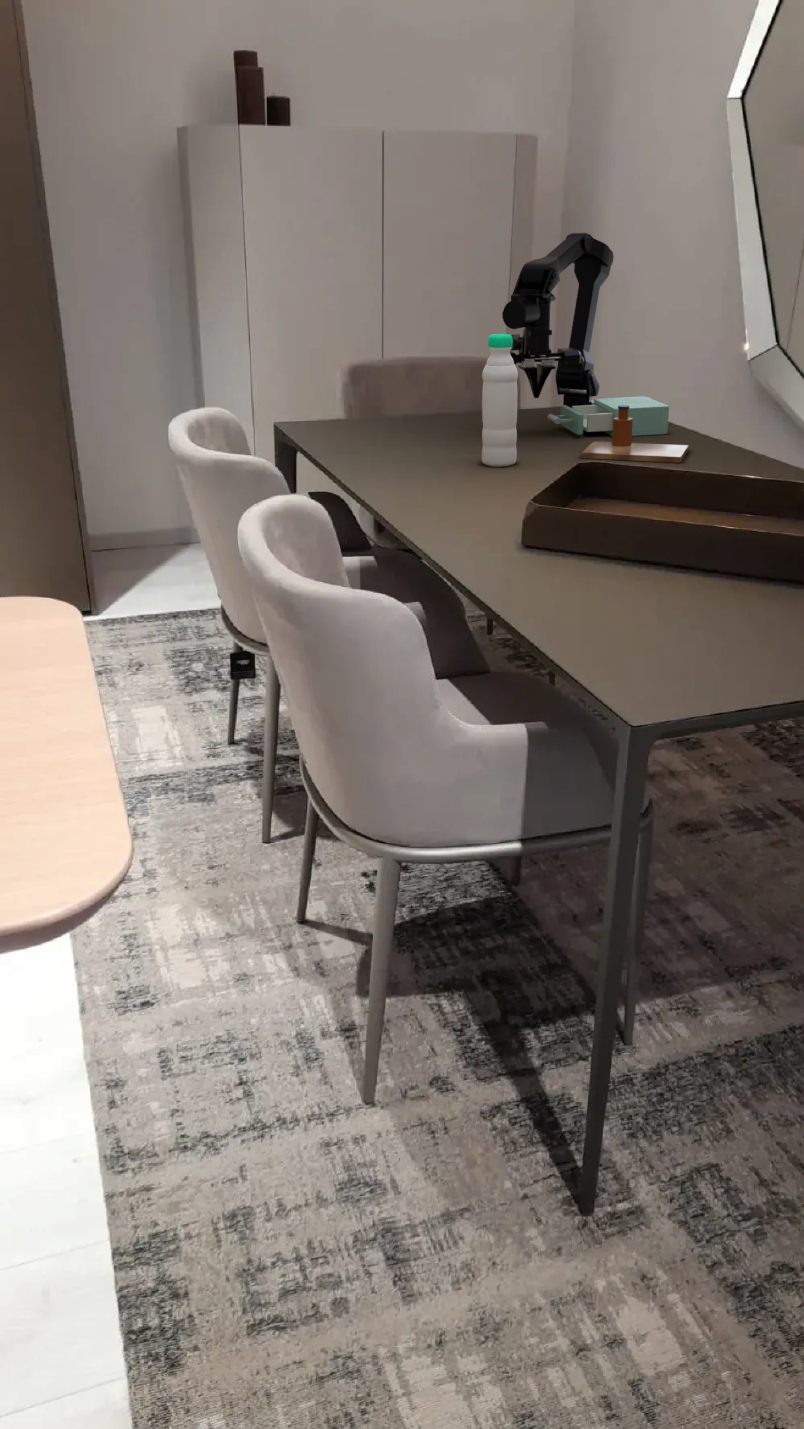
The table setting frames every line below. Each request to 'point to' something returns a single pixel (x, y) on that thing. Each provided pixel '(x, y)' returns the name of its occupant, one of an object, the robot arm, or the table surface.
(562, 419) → the drawer
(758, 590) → the table surface
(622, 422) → the bottle
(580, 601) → the table surface
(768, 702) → the table surface
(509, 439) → the water bottle
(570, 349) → the robot arm
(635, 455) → the board
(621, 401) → the cabinet
